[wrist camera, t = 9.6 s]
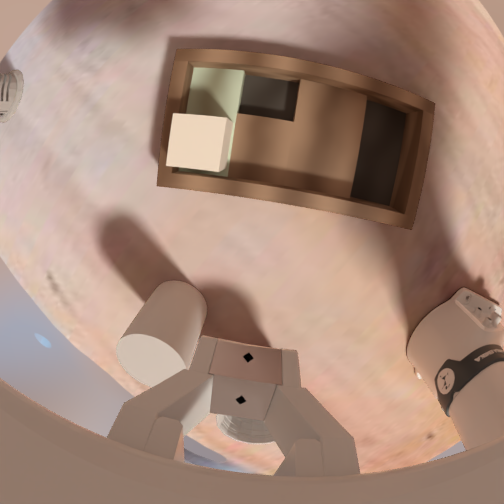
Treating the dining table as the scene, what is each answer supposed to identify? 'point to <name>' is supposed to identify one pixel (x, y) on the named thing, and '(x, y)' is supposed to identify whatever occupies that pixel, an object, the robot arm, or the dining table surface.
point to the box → (304, 134)
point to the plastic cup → (244, 429)
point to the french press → (10, 93)
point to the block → (199, 142)
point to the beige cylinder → (163, 333)
